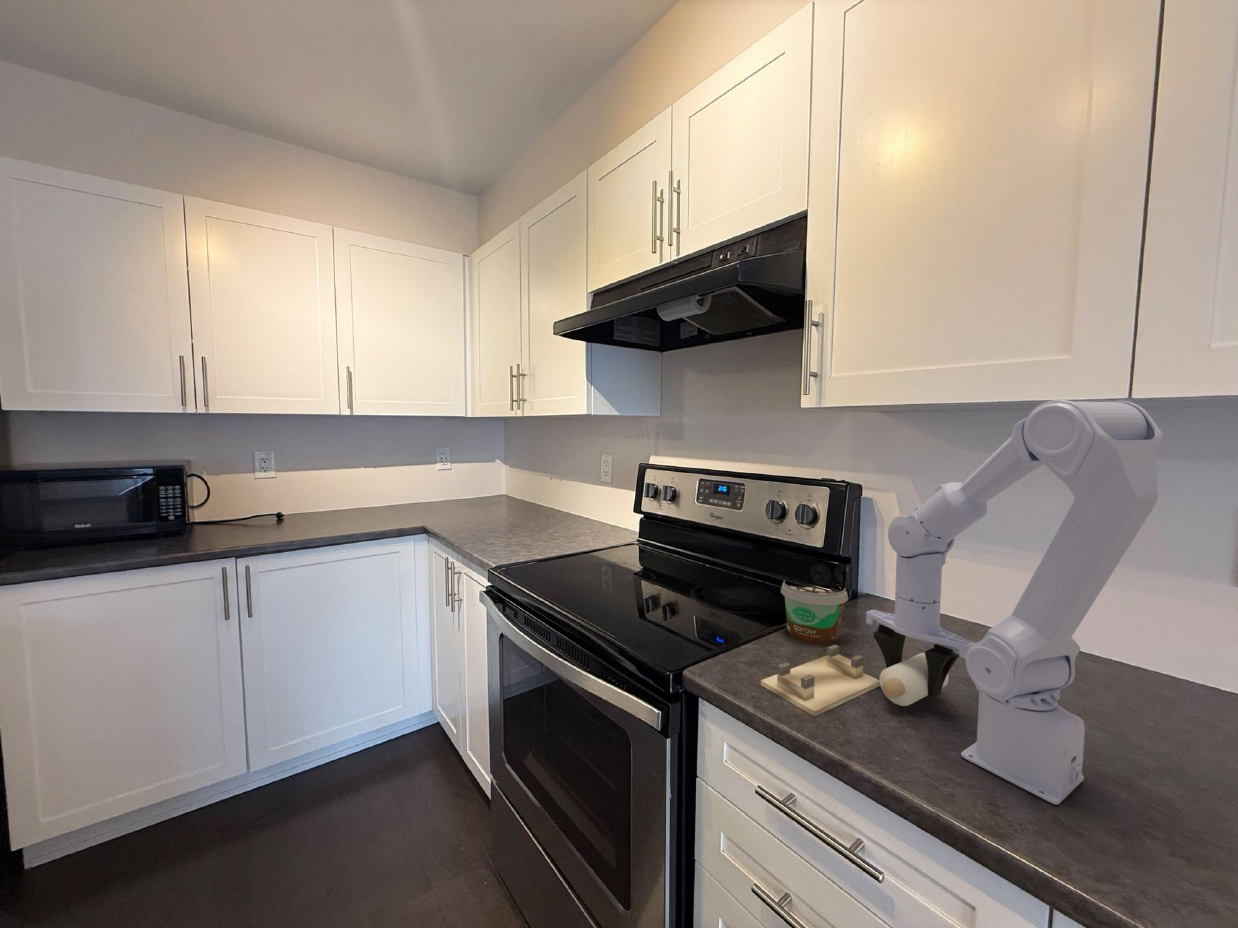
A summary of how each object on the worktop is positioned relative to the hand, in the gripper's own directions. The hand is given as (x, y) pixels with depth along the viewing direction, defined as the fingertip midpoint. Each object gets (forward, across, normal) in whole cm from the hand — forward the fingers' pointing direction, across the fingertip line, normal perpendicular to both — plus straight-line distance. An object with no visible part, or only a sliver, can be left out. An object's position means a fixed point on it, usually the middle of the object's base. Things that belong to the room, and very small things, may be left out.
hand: (913, 685), depth 74 cm
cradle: (+2, +10, +8) cm, 13 cm away
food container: (+2, +22, -5) cm, 23 cm away
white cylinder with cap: (+1, 0, 0) cm, 1 cm away
